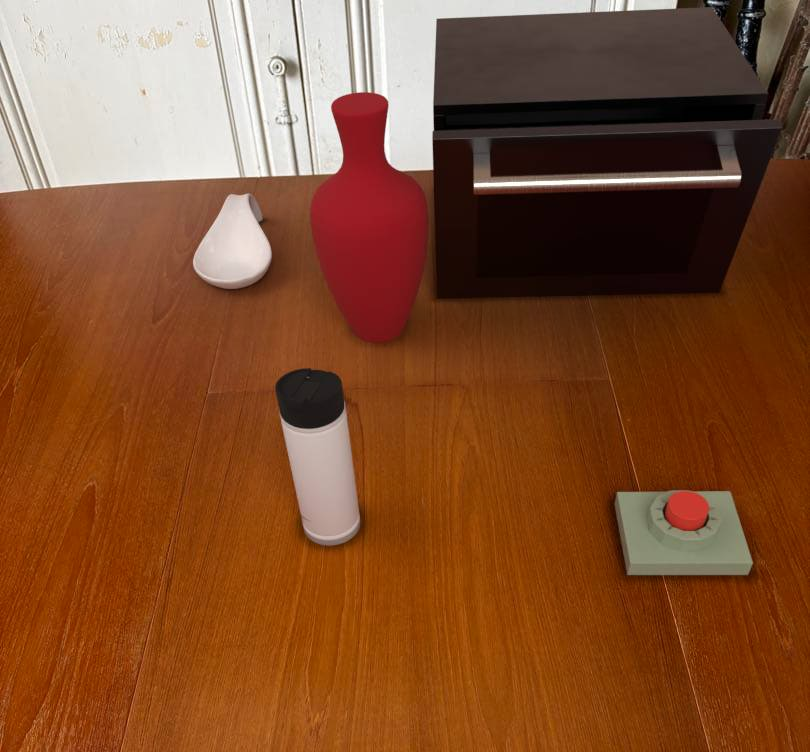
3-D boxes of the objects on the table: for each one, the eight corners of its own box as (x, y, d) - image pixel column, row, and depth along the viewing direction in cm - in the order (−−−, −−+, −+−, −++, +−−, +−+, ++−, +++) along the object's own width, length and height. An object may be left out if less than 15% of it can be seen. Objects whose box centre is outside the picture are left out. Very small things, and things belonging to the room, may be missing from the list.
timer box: (725, 505, 89) (734, 479, 86) (747, 576, 82) (758, 551, 79) (614, 505, 89) (619, 479, 86) (626, 576, 83) (633, 551, 80)
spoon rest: (273, 298, 120) (264, 253, 115) (194, 303, 120) (181, 258, 115) (282, 219, 136) (275, 176, 130) (212, 224, 136) (202, 181, 130)
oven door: (725, 323, 113) (792, 159, 90) (436, 329, 115) (431, 170, 93) (717, 286, 116) (780, 118, 93) (437, 292, 118) (432, 130, 96)
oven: (716, 287, 116) (768, 93, 97) (437, 293, 119) (433, 105, 99) (675, 183, 137) (712, 6, 118) (439, 190, 140) (436, 18, 120)
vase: (448, 312, 115) (446, 85, 93) (404, 372, 107) (390, 137, 84) (356, 292, 120) (332, 71, 97) (307, 348, 111) (269, 119, 89)
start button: (701, 502, 84) (704, 490, 83) (709, 531, 82) (713, 519, 80) (661, 502, 84) (665, 490, 83) (668, 531, 82) (672, 519, 81)
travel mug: (294, 543, 88) (260, 397, 73) (316, 500, 92) (289, 354, 77) (348, 554, 87) (325, 408, 72) (368, 511, 91) (351, 364, 76)
